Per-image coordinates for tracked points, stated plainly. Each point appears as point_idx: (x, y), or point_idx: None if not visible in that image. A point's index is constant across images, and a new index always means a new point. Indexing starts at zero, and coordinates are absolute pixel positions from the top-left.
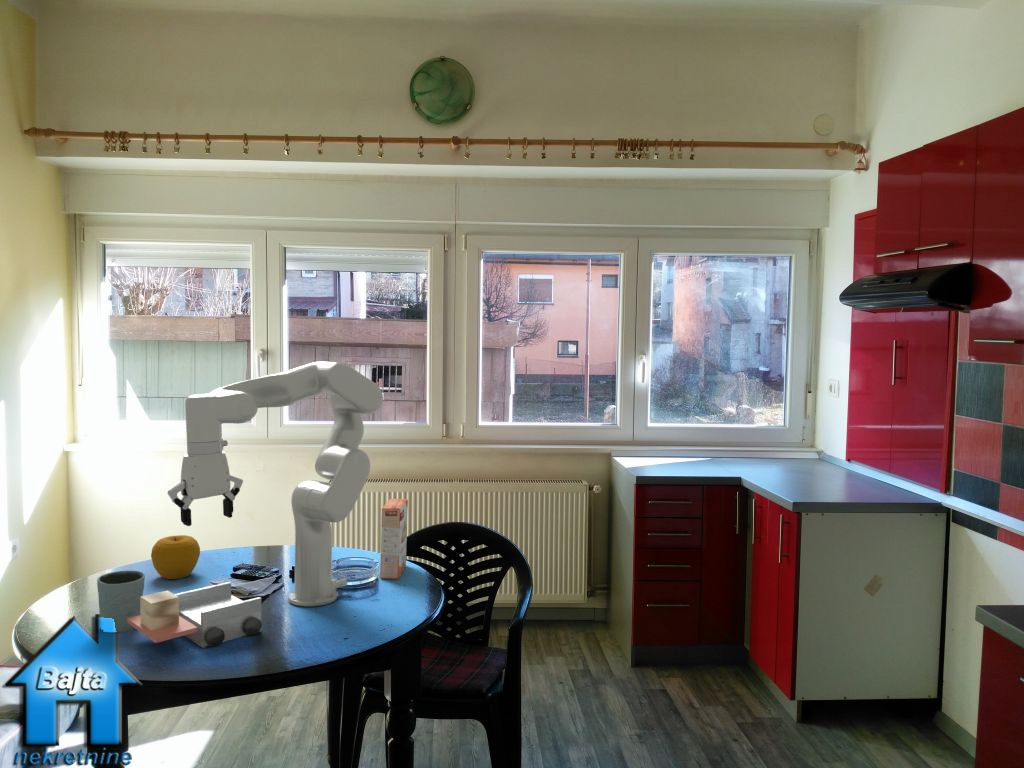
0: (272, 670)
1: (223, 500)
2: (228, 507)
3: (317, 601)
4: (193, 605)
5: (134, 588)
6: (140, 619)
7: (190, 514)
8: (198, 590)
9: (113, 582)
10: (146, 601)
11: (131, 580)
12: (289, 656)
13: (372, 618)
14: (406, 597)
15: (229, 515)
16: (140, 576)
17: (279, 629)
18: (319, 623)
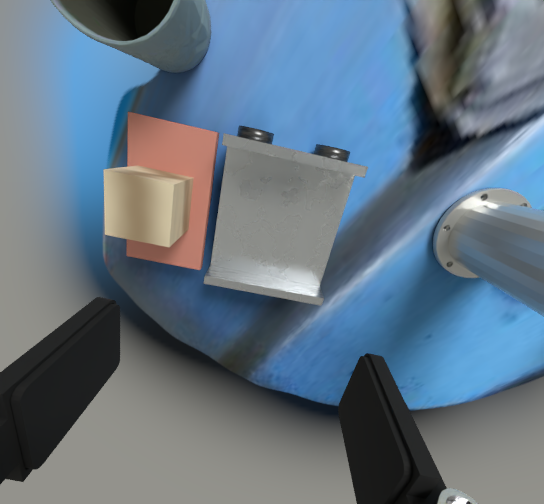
0: (232, 370)
1: (398, 475)
2: (353, 473)
3: (452, 269)
4: (263, 165)
5: (136, 51)
6: (145, 146)
7: (66, 426)
8: (282, 158)
9: None
10: (106, 208)
11: None
12: (271, 359)
13: (431, 358)
14: (535, 344)
15: (341, 420)
16: None
17: (332, 290)
18: (380, 317)
